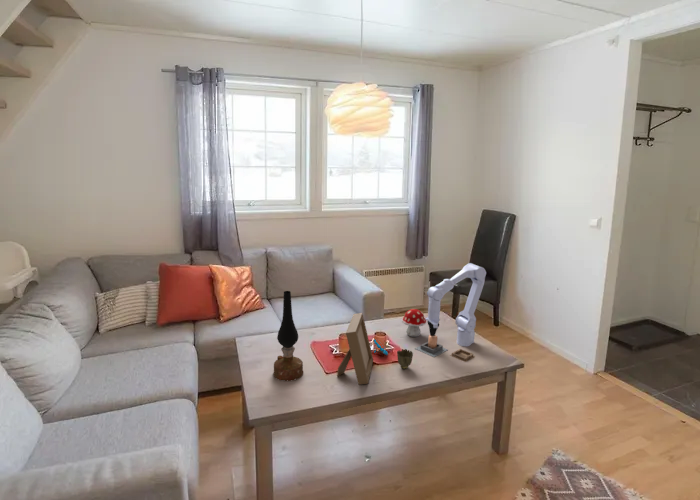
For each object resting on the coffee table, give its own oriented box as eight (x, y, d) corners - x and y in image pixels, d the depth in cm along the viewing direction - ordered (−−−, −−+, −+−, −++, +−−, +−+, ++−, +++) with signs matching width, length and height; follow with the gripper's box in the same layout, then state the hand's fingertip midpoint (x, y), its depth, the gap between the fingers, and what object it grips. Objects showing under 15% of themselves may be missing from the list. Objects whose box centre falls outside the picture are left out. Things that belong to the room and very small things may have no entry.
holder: (459, 351, 217) (459, 347, 216) (475, 358, 210) (475, 354, 210) (449, 357, 211) (449, 353, 210) (465, 363, 204) (465, 359, 204)
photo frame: (373, 361, 205) (374, 313, 199) (368, 385, 184) (368, 332, 178) (343, 359, 207) (343, 311, 201) (334, 382, 186) (334, 330, 180)
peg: (426, 347, 218) (427, 334, 217) (435, 347, 219) (436, 334, 217) (429, 351, 214) (429, 338, 213) (437, 351, 214) (438, 338, 213)
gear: (389, 356, 207) (375, 341, 207) (381, 364, 208) (367, 349, 207) (388, 348, 218) (374, 335, 218) (379, 356, 219) (366, 342, 218)
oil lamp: (303, 386, 188) (320, 307, 176) (269, 383, 185) (284, 303, 173) (301, 367, 201) (317, 292, 189) (269, 365, 198) (283, 288, 186)
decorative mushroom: (428, 332, 240) (430, 307, 236) (421, 341, 227) (423, 315, 224) (405, 327, 245) (406, 303, 242) (397, 336, 233) (398, 311, 230)
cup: (402, 373, 194) (403, 357, 193) (393, 366, 201) (394, 350, 199) (415, 369, 198) (416, 354, 196) (406, 362, 204) (407, 347, 202)
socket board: (428, 343, 225) (429, 338, 224) (447, 351, 217) (448, 346, 216) (414, 350, 217) (415, 344, 216) (433, 359, 209) (434, 353, 208)
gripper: (424, 305, 219) (422, 329, 222) (428, 315, 205) (426, 341, 208) (437, 305, 219) (436, 329, 222) (442, 316, 205) (440, 341, 208)
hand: (432, 335), depth 215 cm, fingers closed
